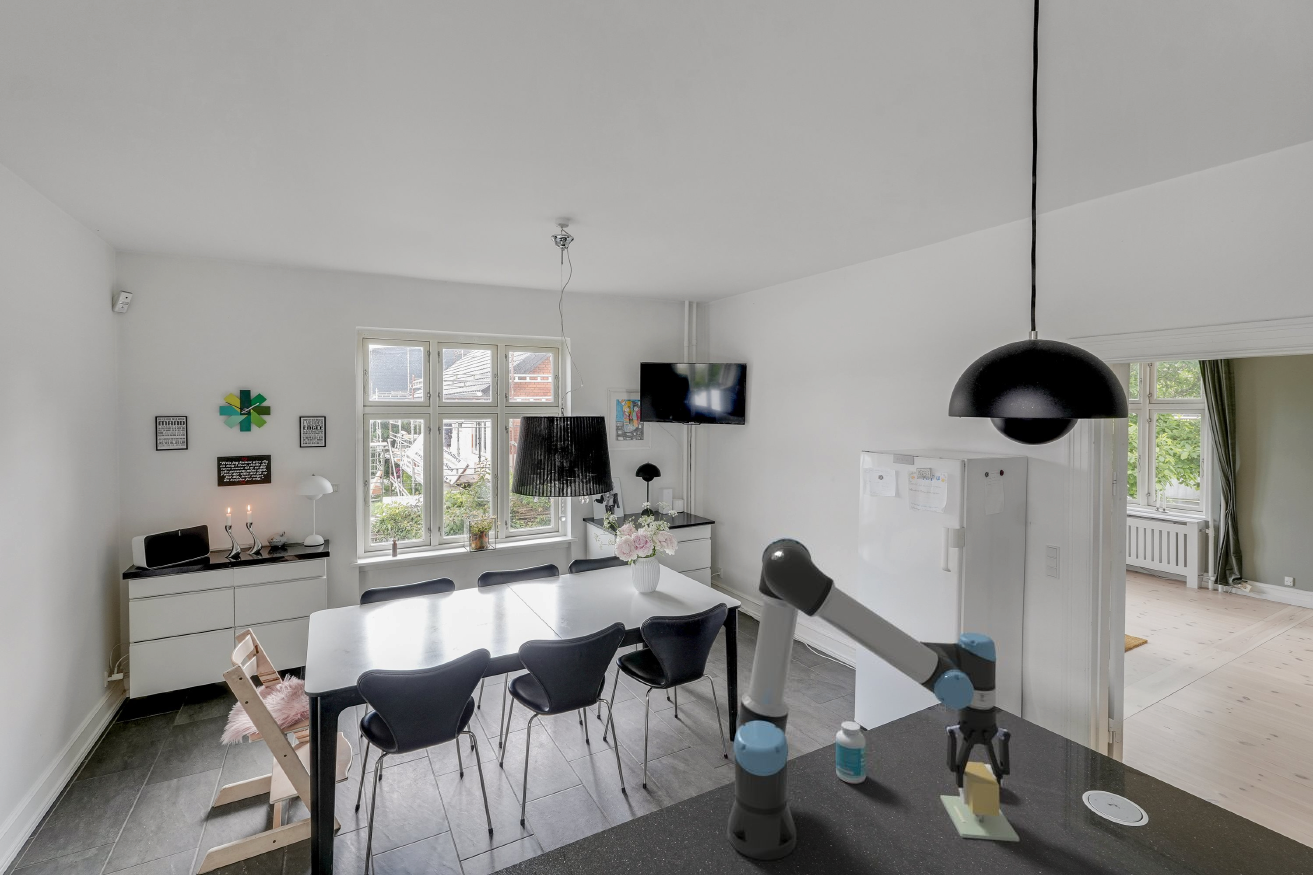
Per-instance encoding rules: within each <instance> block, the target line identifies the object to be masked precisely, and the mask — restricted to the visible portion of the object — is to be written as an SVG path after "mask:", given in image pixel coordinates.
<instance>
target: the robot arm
mask: <svg viewBox="0 0 1313 875" xmlns="http://www.w3.org/2000/svg"><path fill="white" fill-rule="evenodd" d="M762 552H763V553H762V557H761V561H762V562H761V563H762V564H761V565H762V566H761V573H760V579H759V584H758V592H759V594H760V595H761V596H762V598H763V601H762V607H761V612H760V613H761V614H760V618H759V619H760V620H759V625H758V626H759V627H758V632H757V633H758V634H757V638H756V645H755V649H754V650H755V652H754V656H753V662H752V669H751V676H750V683H749V690H748V691H747V692H745V693H744V694H742V696H741V699H740V700H741V701H740V707H739V710H738V714H737V716H736V723H735V726H736V727H735V728H736V733H735V736H734V741H733V752H734V795H735V796H734V802H733V805H732V808H731V811H730V814H729V816H728V821H727V837H728V838H727V839H728V840H729V843H730V844H731V846H732V847H733V849H735V850H736V851H737V852H739V853H740V854H742V855H743V856H746V857H748V858H751V859H753V860H754V859H755V860H759V861H773V860H774V861H775V860H780V859H782V858H784V857H785V858H786V857H787V856H788V855H790V854H791V853H792V851H793V850H794V849H795V848H796V845H797V829H796V825H795V823H794V819H793V816H792V812H791V810H790V807H789V799H788V793H789V792H788V791H789V790H788V788H789V786H788V784H789V783H788V757H789V746H788V741H787V740H788V739H787V737H786V729H787V724H788V718H789V712H790V707H789V705H788V704H787V702H786V701H785V696H786V689H787V684H788V676H789V671H790V665H791V659H792V652H793V647H794V640H795V634H796V633H795V632H796V629H797V623H798V622H797V620H798V614H799V611H800V612H802V613H803V614H805V615H806V616H808V617H809V618H814V617H818V618H819V619H821V620H823V622H825V623H827V624H828V625H830V626H832V627H833V628H834V629H836V630H837V631H839V632H841V633H842V634H844V635H845V636H847V637H848V638H850V639H851V640H852V641H853V642H856V643H857V644H859V645H860V646H861V647H864V648H865V649H866V650H867V651H869V652H871V653H873V654H874V655H875V656H876V657H878V658H880V659H882V660H883V661H884V662H886V663H887V664H889V665H891V667H893V668H895V669H897V670H898V671H899V672H901V673H902V674H904V675H906V676H907V677H909V678H910V679H911V680H913V681H914V682H916V683H918V684H919V685H920V686H922V687H923V688H924V689H927V691H929V692H931V694H934V696H935V697H936V700H938V701H939V702H940V703H941V704H942V705H943V706H945V707H946V708H949V709H952V710H959V714H958V716H959V720H958V722H957V725H953V726H951V725H950V724H946V726H945V731H946V734H947V748H946V751H947V752H946V766H947V768H948V769H949V771H950V772H951V773H955V784H956V786H957V787H958V789H959V788H960V792H959V796H960V798H961V800H962V801H963V803H964V804H968V793H967V775H966V774H965V769H966V765H967V762H969V758H970V756H971V752H972V750H973V749H974V747H975V745H983V746H984V749H985V752H986V756H987V759H988V762H989V765H991V769H992V771H993V773H992V772H991V771H989V772H990V773H991V774H992V776H993V777H994V778H995V780H996V781H997V783H998V784H999V791H1000V790H1001V788H1002V786H1001V779H1003V778H1004V776H1010V774H1011V767H1010V766H1011V764H1010V751H1009V742H1010V740H1011V737H1012V736H1011V733H1010V732H1009V731H1008V730H1007V729H1006V727H998V726H997V708H996V707H997V706H996V704H997V685H996V683H997V682H996V681H997V679H996V678H997V677H996V676H997V674H996V672H997V668H996V667H997V654H996V644H995V641H994V640H993V639H992V638H991V637H990V636H988V635H985V634H982V633H977V632H965V633H961V634H960V635H959V636H958V641H957V642H956V643H955V642H954V643H953V642H951V643H950V642H949V643H947V642H946V643H945V642H928V641H927V642H926V641H925V642H924V641H918V640H917V639H915V638H914V637H912V636H911V635H910V634H908V633H906V632H905V631H903V630H902V629H900V628H899V627H898V626H896V625H894V624H893V623H892V622H889V621H888V620H886V619H885V618H884V617H882V616H880V614H878V613H876V612H874V611H873V610H871V608H868V607H867V606H865V605H864V604H862V603H860V602H859V601H857V600H856V599H855V598H854V597H852V596H850V595H849V594H847V593H845V592H844V591H842V590H841V589H839V588H838V587H837V586H836V583H835V581H834V579H833V578H831V577H829V576H828V575H826V574H825V573H824V572H823V571H821V570H820V568H818V567H817V565H816V564H815V563H814V562H813V560H812V556H811V553H810V551H809V549H808V548H807V546H806V545H804V544H803V543H802V542H801V541H799V540H796V539H794V538H792V537H791V538H790V537H780V538H777V539H775V540H773V541H772V542H770V543H769V544H768V545H767V546H766V548H765V549H764V550H763V551H762ZM959 732H960V733H961V734H962V738H961V739H962V740H961V745H960V749H959V751H958V755H957V750H958V746H957V745H958V740H957V738H958V736H959ZM996 735H997V737H998V741H997V742H998V753H999V754H998V756H999V762H998V759H997V756H996V752H995V749H994V744H993V741H992V740H993V739H994V738H995V736H996Z"/></svg>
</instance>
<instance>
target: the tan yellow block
mask: <svg viewBox="0 0 1313 875" xmlns="http://www.w3.org/2000/svg"><path fill="white" fill-rule="evenodd" d="M984 764H985V763H984V762H979V761H977V762H975V761H968V762H967V765H966V769H965V774H966V775H967V793H968V804H967V805H968V807H969V808H970V810H971V812H972V813H973V814H981V815H996V816H999V809H1000V790H999V784H998V783H997V781H996V780H995V778H994V777H993V776H992V774H991V773H990V772H989V770H988V769H987V767H986V766H985V765H984ZM958 792H959V793H960V788H959V787H958Z"/></svg>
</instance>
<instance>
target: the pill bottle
mask: <svg viewBox="0 0 1313 875" xmlns="http://www.w3.org/2000/svg"><path fill="white" fill-rule="evenodd" d="M840 727H841V729H840V730H838V732H837V733H836V735H835V769H836V771H835V772H836V775H837V778H839V779H840V780H841V781H844V782H846V783H848V784H861V783H863V782H865V779H866V777H867V774H866V773H867V758H866V757H867V756H866V754H867V753H866V752H867V749H866V748H867V747H866V746H867V740H866V737H865V736H864V735H863V734H862V733H861V726H860V724H858V723H857V722H854V721H850V720H847V721H843V722H842V723H841V726H840Z"/></svg>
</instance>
